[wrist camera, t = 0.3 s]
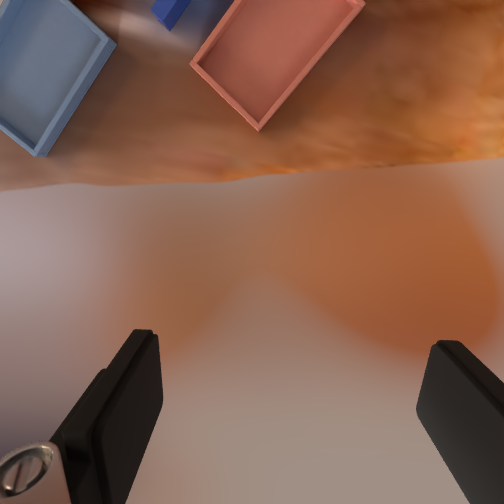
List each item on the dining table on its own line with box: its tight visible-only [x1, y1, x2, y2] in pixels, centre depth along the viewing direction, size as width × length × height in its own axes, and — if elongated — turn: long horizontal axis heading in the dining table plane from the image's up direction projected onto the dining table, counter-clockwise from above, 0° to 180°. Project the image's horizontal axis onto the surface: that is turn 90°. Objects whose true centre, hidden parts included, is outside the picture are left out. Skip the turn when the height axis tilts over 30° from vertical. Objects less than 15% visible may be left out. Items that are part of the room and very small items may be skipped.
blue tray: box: [0, 0, 117, 157], centre depth 34 cm, size 16×10×2 cm, turn 138°
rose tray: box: [190, 0, 366, 132], centre depth 32 cm, size 16×10×2 cm, turn 138°
